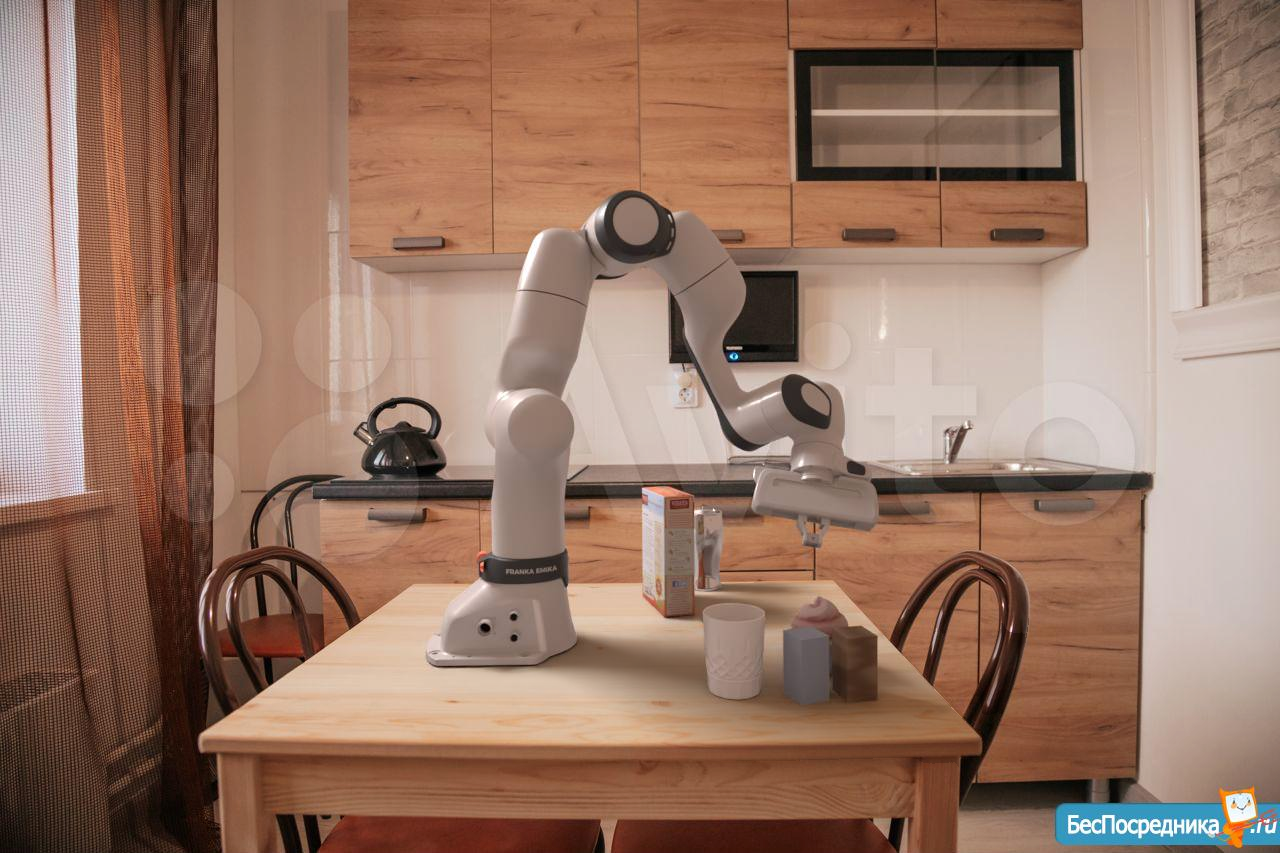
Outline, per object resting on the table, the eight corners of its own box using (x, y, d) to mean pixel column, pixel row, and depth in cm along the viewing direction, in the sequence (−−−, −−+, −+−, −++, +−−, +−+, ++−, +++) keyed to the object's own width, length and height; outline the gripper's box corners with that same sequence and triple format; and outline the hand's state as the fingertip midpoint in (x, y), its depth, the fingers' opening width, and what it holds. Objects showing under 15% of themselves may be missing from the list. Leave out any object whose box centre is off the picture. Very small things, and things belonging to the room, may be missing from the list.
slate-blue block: (801, 705, 84) (801, 640, 84) (783, 692, 88) (783, 630, 87) (829, 700, 85) (829, 635, 85) (810, 687, 89) (809, 625, 89)
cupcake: (775, 658, 99) (775, 589, 99) (835, 652, 101) (835, 584, 101) (803, 684, 90) (803, 608, 90) (869, 677, 92) (869, 603, 91)
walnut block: (847, 703, 84) (847, 638, 84) (832, 690, 88) (831, 627, 88) (877, 700, 85) (877, 635, 85) (861, 687, 89) (861, 625, 89)
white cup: (778, 693, 87) (778, 614, 87) (728, 707, 83) (727, 625, 83) (739, 672, 94) (739, 599, 94) (691, 684, 90) (690, 608, 90)
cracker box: (697, 615, 119) (696, 494, 118) (663, 618, 118) (662, 496, 117) (672, 593, 133) (670, 484, 132) (641, 596, 131) (640, 486, 130)
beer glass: (725, 591, 133) (724, 514, 133) (689, 592, 133) (688, 514, 133) (721, 582, 140) (721, 508, 140) (687, 582, 140) (686, 508, 140)
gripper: (757, 451, 116) (748, 527, 109) (882, 470, 114) (881, 548, 107) (752, 469, 121) (744, 542, 114) (872, 487, 119) (870, 563, 112)
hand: (811, 545), depth 111 cm, fingers closed
